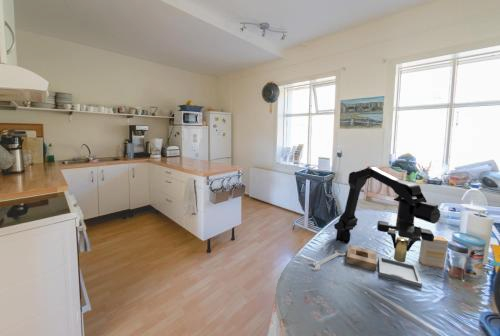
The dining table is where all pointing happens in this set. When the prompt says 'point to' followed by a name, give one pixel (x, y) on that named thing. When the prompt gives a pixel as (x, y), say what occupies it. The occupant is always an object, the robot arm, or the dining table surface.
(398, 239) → the brass pin
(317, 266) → the wrench
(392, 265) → the tray
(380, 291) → the dining table surface
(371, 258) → the pin block
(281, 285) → the dining table surface
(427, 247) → the supplement box
